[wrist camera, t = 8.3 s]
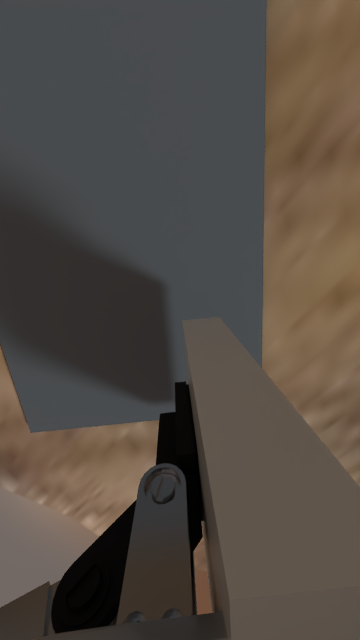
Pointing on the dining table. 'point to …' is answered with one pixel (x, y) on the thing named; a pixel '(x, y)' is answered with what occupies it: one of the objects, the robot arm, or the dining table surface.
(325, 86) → the dining table surface
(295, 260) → the dining table surface
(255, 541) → the white flat box
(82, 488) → the dining table surface
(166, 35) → the mat
